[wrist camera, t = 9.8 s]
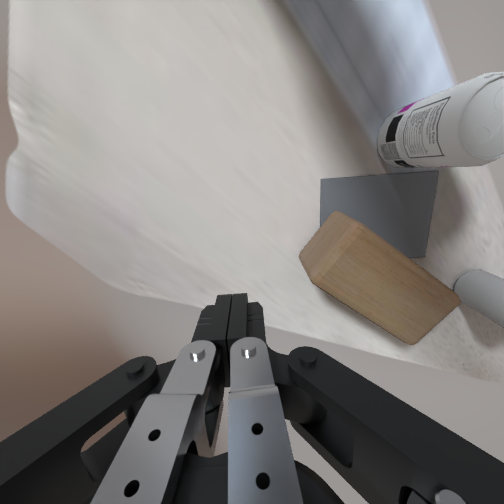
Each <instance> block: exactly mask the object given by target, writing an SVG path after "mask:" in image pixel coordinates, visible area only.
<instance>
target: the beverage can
mask: <svg viewBox="0 0 504 504" xmlns="http://www.w3.org/2000/svg"><path fill="white" fill-rule="evenodd" d="M454 292H455V293H456V294H458V296H459V298H460V300H461V302H463V303H465V304H466V305H468V306H470V307H471V308H473V309H474V310H476V311H478V312H479V313H481V314H483V315H484V316H486V317H487V318H489V319H491V320H492V321H494V322H496V323H497V324H499V325H500V326H502V327H504V279H502V278H500V277H497V276H495V275H493V274H490V273H488V272H486V271H483V270H472V271H469V272H467V273H465V274H463V275H462V276H461V277H460V278H459V279H458V280H457V282H456V284H455V287H454Z"/></svg>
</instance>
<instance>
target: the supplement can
mask: <svg viewBox="0 0 504 504" xmlns="http://www.w3.org/2000/svg"><path fill="white" fill-rule="evenodd" d="M377 146H378V152H379V154H380V156H381V158H382V159H383V160H384V161H385V162H386V163H387V164H388V165H391V166H394V167H397V168H405V167H470V166H483V165H485V164H487V163H490V162H492V161H495V160H497V159H498V158H500V157H502V156H504V72H493V73H485V74H483V75H480V76H478V77H475V78H473V79H471V80H468V81H466V82H463V83H461V84H458V85H456V86H453V87H451V88H448V89H446V90H444V91H441V92H439V93H436V94H434V95H431V96H429V97H426V98H424V99H421V100H419V101H417V102H414V103H412V104H409V105H407V106H404V107H402V108H400V109H398V110H396V111H394V112H393V113H392V114H391V115H389V116H388V117H387V118H386V119H385V121H384V123H383V124H382V126H381V128H380V130H379V134H378V138H377Z"/></svg>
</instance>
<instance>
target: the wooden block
mask: <svg viewBox="0 0 504 504" xmlns="http://www.w3.org/2000/svg"><path fill="white" fill-rule="evenodd" d="M299 259H300V261H301V263H302V265H303V267H304V269H305V271H306V273H307V275H308V277H309V279H310V280H311V282H312V283H313V284H314V285H316V286H317V287H319V288H321V289H322V290H324V291H325V292H327V293H328V294H330V295H331V296H333V297H335V298H336V299H338V300H339V301H341V302H342V303H344V304H345V305H347V306H349V307H350V308H352V309H353V310H355V311H356V312H358V313H359V314H361V315H363V316H364V317H366V318H367V319H369V320H370V321H372V322H373V323H375V324H377V325H378V326H380V327H381V328H383V329H384V330H386V331H387V332H389V333H391V334H392V335H394V336H395V337H397V338H398V339H400V340H401V341H403V342H405V343H407V344H409V345H414V344H416V343H417V342H418V341H419V340H421V339H422V338H423V337H424V336H425V335H426V334H427V333H428V332H429V331H431V330H432V329H433V328H434V327H435V326H436V325H437V324H438V323H439V322H440V321H442V320H443V319H444V318H445V317H446V316H447V315H448V314H449V313H450V312H452V311H453V310H454V309H455V308H456V307H457V306H458V305H459V304H460V302H461V300H460V298H459V296H458V294H456V293H455V292H454V291H452V290H451V289H450V288H448V287H447V286H446V285H444V284H443V283H442V282H440V281H439V280H438V279H436V278H435V277H434V276H432V275H431V274H429V273H428V272H427V271H425V270H424V269H423V268H421V267H420V266H419V265H417V264H416V263H415V262H413V261H412V260H411V259H409V258H408V257H407V256H405V255H404V254H403V253H401V252H400V251H399V250H397V249H396V248H395V247H393V246H392V245H391V244H389V243H388V242H387V241H385V240H384V239H383V238H381V237H380V236H379V235H377V234H376V233H375V232H373V231H372V230H370V229H369V228H368V227H366V226H365V225H364V224H362V223H360V222H359V221H357V220H355V219H353V218H351V217H350V216H348V215H346V214H344V213H342V212H340V211H334V212H333V213H331V215H330V216H329V217H328V218H327V220H326V221H325V222H324V223H323V225H322V226H321V227H320V228H319V230H318V231H317V232H316V233H315V235H314V236H313V237H312V238H311V240H310V241H309V242H308V244H307V245H306V246H305V247H304V249H303V250H302V251H301V252H300V254H299Z"/></svg>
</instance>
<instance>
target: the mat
mask: <svg viewBox="0 0 504 504" xmlns="http://www.w3.org/2000/svg"><path fill="white" fill-rule="evenodd" d="M438 174H439V171H430V172H416V173H402V174H387V175H373V176H359V177H344V178H330V179H321V197H320V227H321V226H322V225H323V223H324V222H325V221H326V220H327V218H328V217H329V216H330V215H331V213H333V212H334V211H340V212H342V213H344V214H346V215H348V216H350V217H351V218H353V219H355V220H357V221H359V222H360V223H362V224H364V225H365V226H366V227H368V228H369V229H370V230H372V231H373V232H375V233H376V234H377V235H379V236H380V237H381V238H383V239H384V240H385V241H387V242H388V243H389V244H391V245H392V246H393V247H395V248H396V249H397V250H399V251H400V252H401V253H403V254H404V255H405V256H407V257H408V258H416V257H425V253H426V247H427V241H428V235H429V229H430V223H431V217H432V210H433V204H434V198H435V192H436V186H437V180H438Z"/></svg>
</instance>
